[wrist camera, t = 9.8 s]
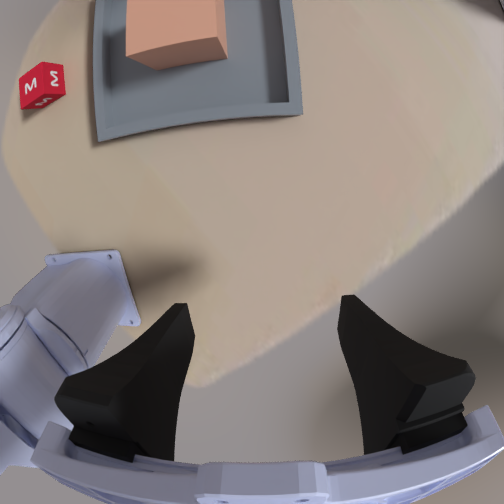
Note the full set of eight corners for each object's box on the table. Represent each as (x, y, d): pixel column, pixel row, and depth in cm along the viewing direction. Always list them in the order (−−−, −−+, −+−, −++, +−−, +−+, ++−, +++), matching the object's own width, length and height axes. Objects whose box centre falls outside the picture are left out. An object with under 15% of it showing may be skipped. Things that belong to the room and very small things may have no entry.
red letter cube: (63, 64, 15) (42, 61, 12) (66, 94, 16) (44, 93, 13) (40, 79, 15) (18, 78, 12) (42, 108, 16) (20, 109, 14)
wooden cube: (156, 70, 15) (125, 56, 11) (155, 13, 13) (128, -12, 9) (227, 58, 15) (217, 36, 11) (224, 1, 13) (213, -32, 8)
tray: (110, 139, 18) (98, 141, 16) (107, -8, 12) (97, -15, 10) (298, 115, 17) (303, 114, 16) (281, -41, 11) (283, -52, 10)
